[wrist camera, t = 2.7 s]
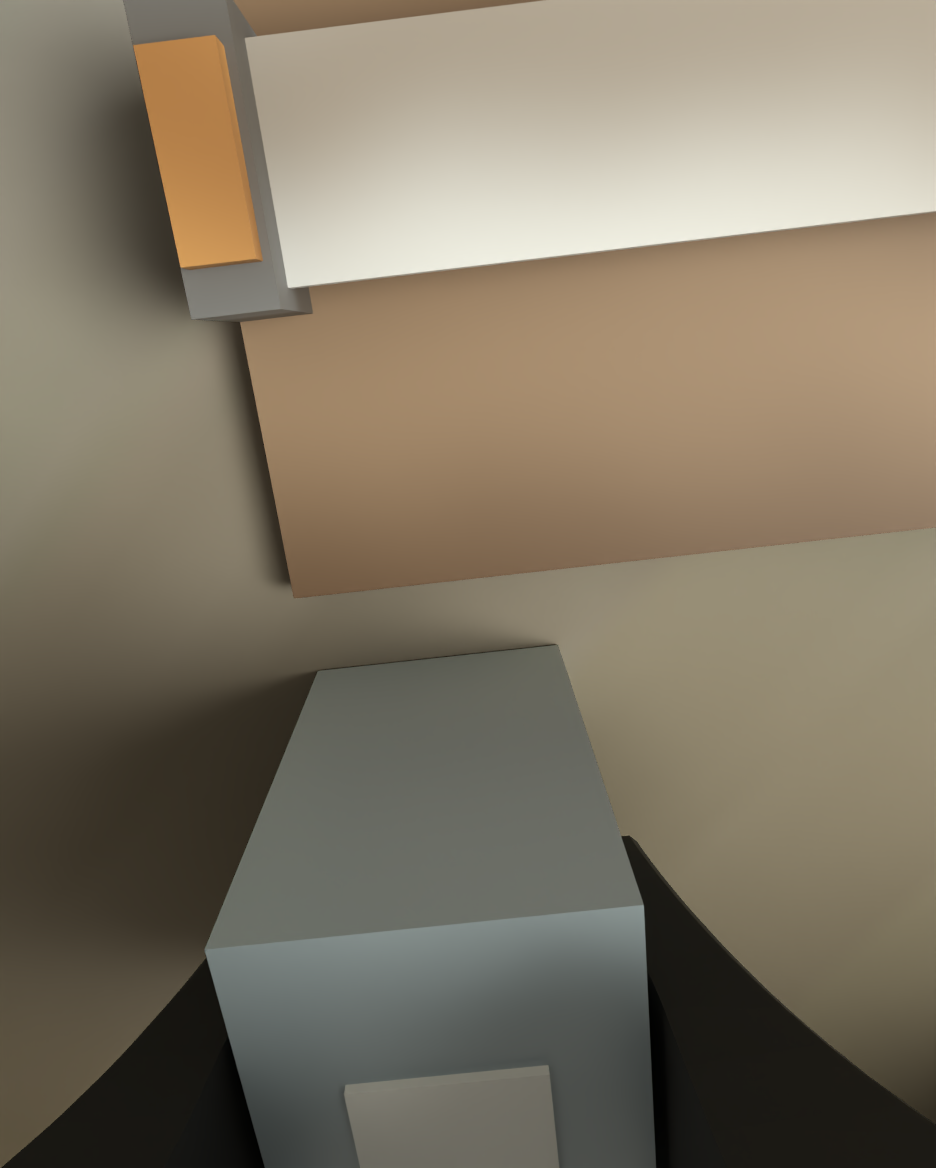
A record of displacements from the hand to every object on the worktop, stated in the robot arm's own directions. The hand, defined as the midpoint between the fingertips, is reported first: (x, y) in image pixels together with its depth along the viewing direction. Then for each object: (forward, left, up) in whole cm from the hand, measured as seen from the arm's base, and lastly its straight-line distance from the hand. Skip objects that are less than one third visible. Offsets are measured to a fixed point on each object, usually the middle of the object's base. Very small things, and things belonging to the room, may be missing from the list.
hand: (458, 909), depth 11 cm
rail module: (0, 0, -2) cm, 2 cm away
